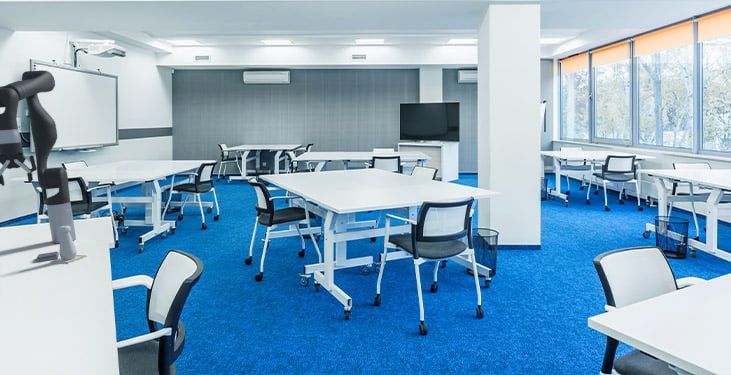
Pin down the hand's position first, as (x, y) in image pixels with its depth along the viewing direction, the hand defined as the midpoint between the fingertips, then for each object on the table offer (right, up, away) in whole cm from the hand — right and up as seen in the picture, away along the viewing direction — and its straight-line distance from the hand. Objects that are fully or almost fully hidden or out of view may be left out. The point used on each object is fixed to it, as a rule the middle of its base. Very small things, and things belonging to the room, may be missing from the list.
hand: (16, 183), depth 190 cm
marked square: (+20, -29, +1) cm, 35 cm away
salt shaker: (+20, -29, +1) cm, 35 cm away
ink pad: (+9, -29, +4) cm, 31 cm away
